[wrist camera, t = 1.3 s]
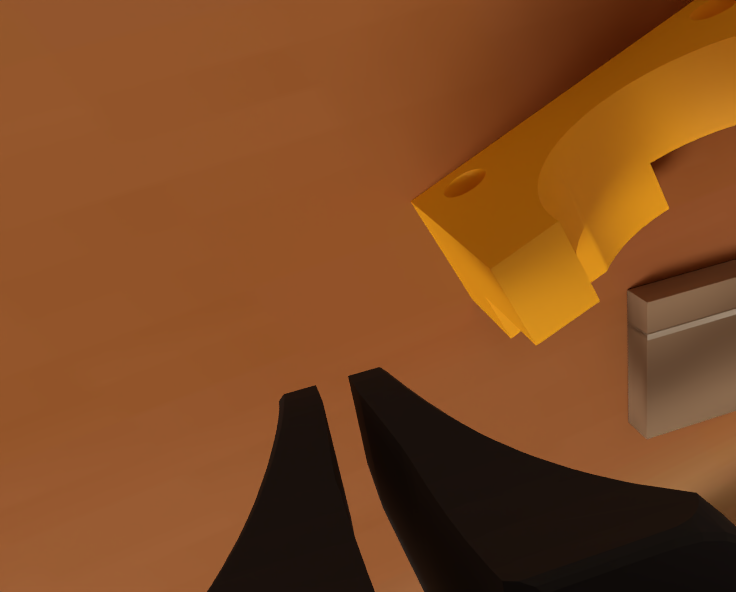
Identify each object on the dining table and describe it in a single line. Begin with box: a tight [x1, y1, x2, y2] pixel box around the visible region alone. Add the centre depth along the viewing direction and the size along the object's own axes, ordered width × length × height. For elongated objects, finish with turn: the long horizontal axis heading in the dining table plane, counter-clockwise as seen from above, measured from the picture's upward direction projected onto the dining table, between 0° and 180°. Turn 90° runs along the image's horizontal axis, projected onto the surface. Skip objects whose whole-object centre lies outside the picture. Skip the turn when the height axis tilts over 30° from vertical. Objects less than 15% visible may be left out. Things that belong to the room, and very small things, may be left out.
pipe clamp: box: [411, 0, 736, 345], centre depth 19 cm, size 12×4×6 cm, turn 123°
